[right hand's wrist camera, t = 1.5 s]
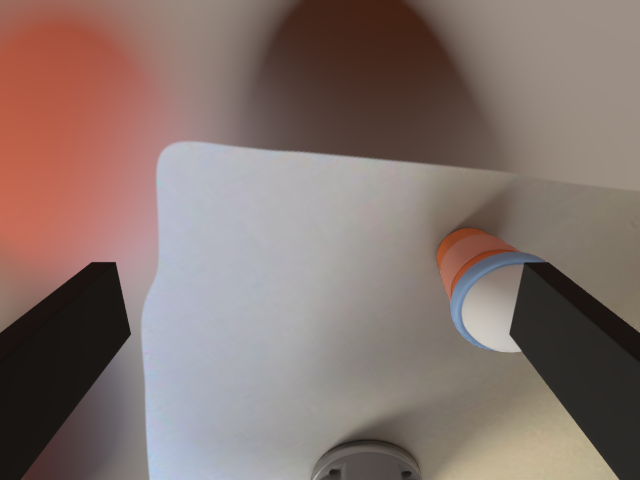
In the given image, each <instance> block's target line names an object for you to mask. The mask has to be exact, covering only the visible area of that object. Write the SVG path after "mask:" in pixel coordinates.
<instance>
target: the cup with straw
mask: <svg viewBox="0 0 640 480" xmlns="http://www.w3.org/2000/svg"><path fill="white" fill-rule="evenodd" d="M524 262H545V261H544V260H542V259H541V258H539V257H536V256H534V255H531V254H528V253H523V252H520V251H518V250H517V249H515V248H513V247H512V246H510V245H508V244H507V243H505V242H504V241H502V240H500V239H498V238H497V237H494V236H491V235H489V234H487V233H485V232H483V231H481V230H479V229H475V228H464V229H460V230H457V231H455V232H453V233H451V234H450V235H448V236H447V237H446V238H445V239H444V240H443V241H442V243H441V244H440V246H439V248H438V251H437V264H438V267H439V270H440V275H441V280H442V282H443V285H444V287H445V290H446V292H447V295H448V297H449V300H450V310H451V317H452V320H453V322H454V325H455V327H456V328H457V330H458V331H459V332H460V334H461V335H462V336H463V337H464V338H465V339H466V340H468V341H469V342H471V343H472V344H474V345H476V346H478V347H480V348H483V349H487V350H492V351H501V352H522V351H521V349H520V348H519V347H518V346H517V344H516V343H515V342H514V340H513V339H512V338H511V336H510V335H509V332H510V327H511V323H512V318H513V313H514V309H515V304H516V299H517V294H518V290H519V285H520V280H521V276H522V271H523V266H524Z"/></svg>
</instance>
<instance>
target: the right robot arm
mask: <svg viewBox="0 0 640 480" xmlns="http://www.w3.org/2000/svg"><path fill="white" fill-rule="evenodd" d="M130 335H131V332H130V327H129V323H128V318H127V313H126V309H125V304H124V299H123V295H122V290H121V285H120V280H119V276H118V271H117V266H116V262H91V263H90V264H89V265H88V266H86V267H85V268H84V269H82V270H81V271H80V272H79V273H77V274H76V275H75V276H73V277H72V278H71V279H69V280H68V281H67V282H66V283H64V284H63V285H62V286H60V287H59V288H58V289H56V290H55V291H54V292H53V293H51V294H50V295H49V296H48V297H46V298H45V299H44V300H42V301H41V302H40V303H38V304H37V305H36V306H34V307H33V308H32V309H31V310H29V311H28V312H27V313H25V314H24V315H23V316H22V317H20V318H19V319H18V320H16V321H15V322H14V323H12V324H11V325H10V326H9V327H7V328H6V329H5V330H4V331H2V332H1V333H0V480H21V478H22V477H23V476H24V474H25V473H26V472H27V470H28V469H29V468H30V466H31V465H32V464H33V462H34V461H35V460H36V459H37V457H38V456H39V455H40V453H41V452H42V451H43V449H44V448H45V447H46V445H47V444H48V443H49V441H50V440H51V439H52V438H53V436H54V435H55V434H56V432H57V431H58V430H59V428H60V427H61V426H62V424H63V423H64V422H65V420H66V419H67V418H68V416H69V415H70V414H71V413H72V411H73V410H74V409H75V407H76V406H77V405H78V403H79V402H80V401H81V399H82V398H83V397H84V395H85V394H86V393H87V392H88V390H89V389H90V388H91V386H92V385H93V384H94V382H95V381H96V380H97V378H98V377H99V376H100V374H101V373H102V372H103V370H104V369H105V368H106V367H107V365H108V364H109V363H110V361H111V360H112V359H113V357H114V356H115V355H116V353H117V352H118V351H119V349H120V348H121V347H122V346H123V344H124V343H125V342H126V340H127V339H128V338H129V336H130ZM509 335H510V336H511V338H512V339H513V340H514V342H515V343H516V344H517V346H518V347H519V348H520V349H521V351H522V352H523V353H524V355H525V356H526V357H527V359H528V360H529V361H530V363H531V364H532V365H533V367H534V368H535V369H536V370H537V372H538V373H539V374H540V376H541V377H542V378H543V380H544V381H545V382H546V384H547V385H548V386H549V388H550V389H551V390H552V392H553V393H554V394H555V395H556V397H557V398H558V399H559V401H560V402H561V403H562V405H563V406H564V407H565V409H566V410H567V411H568V413H569V414H570V415H571V417H572V418H573V419H574V420H575V422H576V423H577V424H578V426H579V427H580V428H581V430H582V431H583V432H584V434H585V435H586V436H587V438H588V439H589V440H590V442H591V443H592V444H593V445H594V447H595V448H596V449H597V451H598V452H599V453H600V455H601V456H602V457H603V459H604V460H605V461H606V463H607V464H608V465H609V467H610V468H611V469H612V470H613V472H614V473H615V474H616V476H617V477H618V478H619V480H640V333H639V332H638V331H637V330H635V329H634V328H633V327H631V326H630V325H629V324H627V323H626V322H625V321H624V320H622V319H621V318H620V317H618V316H617V315H616V314H615V313H613V312H612V311H611V310H609V309H608V308H607V307H606V306H604V305H603V304H602V303H600V302H599V301H598V300H596V299H595V298H594V297H593V296H591V295H590V294H589V293H587V292H586V291H585V290H584V289H582V288H581V287H580V286H578V285H577V284H576V283H574V282H573V281H572V280H571V279H569V278H568V277H567V276H565V275H564V274H563V273H562V272H560V271H559V270H558V269H556V268H555V267H554V266H552V265H551V264H550V263H549V262H524V266H523V271H522V276H521V280H520V285H519V290H518V294H517V299H516V304H515V309H514V313H513V318H512V323H511V327H510V332H509ZM311 480H422V479H421V475H420V471H419V468H418V465H417V463H416V462H415V460H414V459H413V458H412V457H411V456H410V455H409V454H408V453H407V452H406V451H404V450H402V449H401V448H399V447H397V446H394V445H392V444H389V443H385V442H380V441H357V442H351V443H347V444H344V445H341V446H339V447H336V448H334V449H333V450H331V451H329V452H328V453H327V454H325V455H324V456H323V457H322V458H321V459H320V460H319V461H318V463H317V464H316V466H315V467H314V470H313V473H312V478H311Z"/></svg>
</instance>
